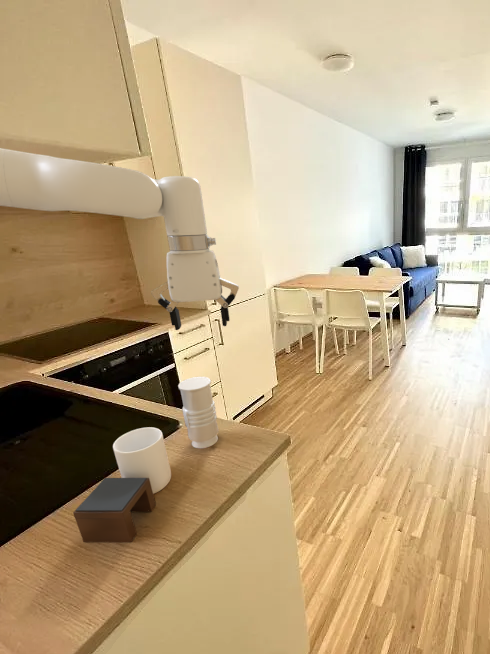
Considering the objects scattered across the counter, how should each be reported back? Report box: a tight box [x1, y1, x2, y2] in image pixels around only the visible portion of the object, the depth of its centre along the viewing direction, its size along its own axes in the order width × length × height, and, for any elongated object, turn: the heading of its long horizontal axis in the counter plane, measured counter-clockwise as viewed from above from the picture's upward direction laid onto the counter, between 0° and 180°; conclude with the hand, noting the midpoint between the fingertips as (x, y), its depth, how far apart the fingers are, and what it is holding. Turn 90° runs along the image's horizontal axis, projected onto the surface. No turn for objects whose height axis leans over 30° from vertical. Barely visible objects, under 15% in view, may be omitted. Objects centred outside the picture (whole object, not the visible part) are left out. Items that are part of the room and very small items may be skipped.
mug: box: [112, 426, 172, 495], centre depth 71 cm, size 12×8×10 cm
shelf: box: [72, 477, 157, 543], centre depth 61 cm, size 8×8×6 cm
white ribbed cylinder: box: [177, 376, 220, 449], centre depth 82 cm, size 7×7×15 cm
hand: (202, 326), depth 78 cm, fingers open, 9 cm apart
